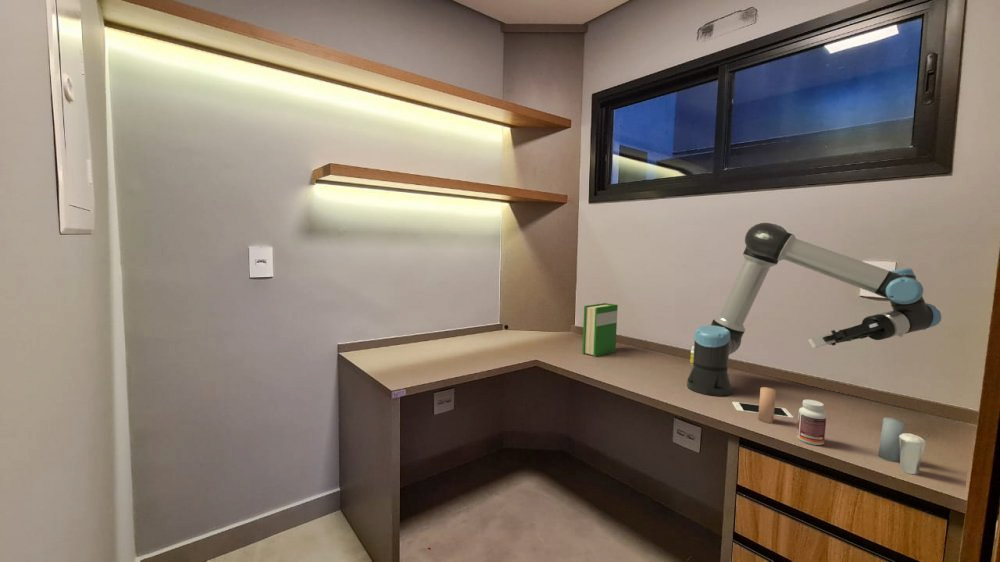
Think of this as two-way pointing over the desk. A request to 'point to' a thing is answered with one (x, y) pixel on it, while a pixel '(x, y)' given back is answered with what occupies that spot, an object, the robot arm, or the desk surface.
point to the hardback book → (599, 329)
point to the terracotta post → (766, 405)
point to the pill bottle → (811, 423)
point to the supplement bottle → (692, 356)
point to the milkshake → (911, 452)
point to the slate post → (891, 439)
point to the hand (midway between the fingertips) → (811, 343)
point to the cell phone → (755, 409)
